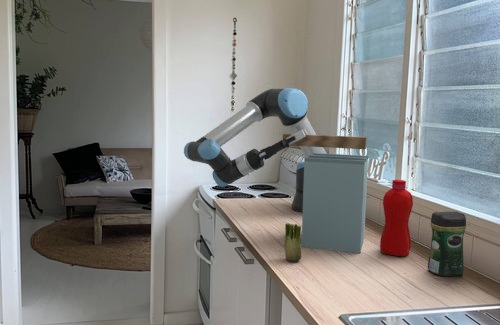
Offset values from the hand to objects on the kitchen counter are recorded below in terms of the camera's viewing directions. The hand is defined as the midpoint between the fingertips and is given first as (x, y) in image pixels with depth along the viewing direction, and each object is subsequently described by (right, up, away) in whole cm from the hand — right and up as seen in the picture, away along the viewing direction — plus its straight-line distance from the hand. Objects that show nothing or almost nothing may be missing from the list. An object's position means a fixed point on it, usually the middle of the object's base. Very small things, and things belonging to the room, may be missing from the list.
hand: (305, 132), depth 166 cm
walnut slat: (+6, -5, -2) cm, 8 cm away
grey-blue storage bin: (+11, -40, +1) cm, 41 cm away
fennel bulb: (-6, -42, -19) cm, 46 cm away
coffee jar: (+39, -44, -27) cm, 64 cm away
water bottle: (+30, -41, -8) cm, 52 cm away
